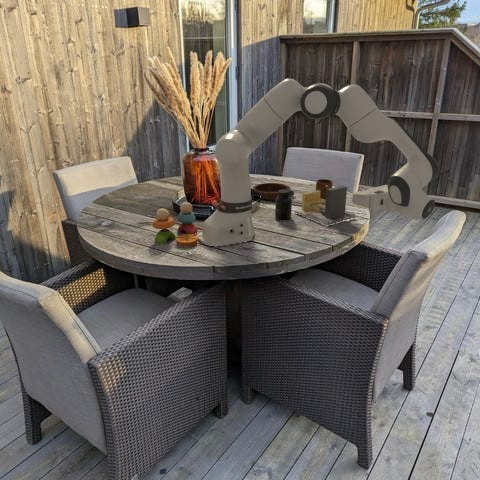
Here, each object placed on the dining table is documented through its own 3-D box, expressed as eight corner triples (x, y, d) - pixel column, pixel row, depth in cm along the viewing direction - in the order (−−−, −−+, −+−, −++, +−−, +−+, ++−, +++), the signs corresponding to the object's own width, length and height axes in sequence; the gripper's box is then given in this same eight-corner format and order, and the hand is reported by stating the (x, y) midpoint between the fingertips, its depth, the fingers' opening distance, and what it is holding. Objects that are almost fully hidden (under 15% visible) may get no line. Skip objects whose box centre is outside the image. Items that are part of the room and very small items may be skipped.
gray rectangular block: (328, 219, 179) (330, 190, 175) (317, 214, 184) (319, 186, 180) (344, 214, 184) (347, 186, 179) (333, 210, 189) (335, 183, 184)
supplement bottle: (272, 219, 185) (272, 192, 180) (278, 214, 190) (279, 187, 186) (287, 222, 182) (288, 194, 177) (293, 217, 187) (294, 189, 183)
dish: (247, 192, 223) (247, 183, 221) (290, 191, 224) (291, 182, 222) (250, 203, 207) (250, 193, 205) (297, 201, 208) (297, 191, 206)
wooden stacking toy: (187, 250, 156) (185, 217, 151) (149, 242, 164) (146, 210, 159) (214, 234, 171) (213, 203, 166) (178, 226, 178) (176, 197, 174)
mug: (335, 205, 201) (336, 185, 197) (318, 206, 201) (320, 186, 197) (329, 198, 212) (330, 178, 209) (313, 198, 212) (314, 179, 208)
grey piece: (327, 226, 176) (328, 206, 173) (294, 213, 192) (295, 194, 188) (355, 219, 184) (357, 199, 181) (322, 206, 200) (323, 188, 196)
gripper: (410, 185, 161) (380, 177, 172) (371, 194, 151) (342, 186, 161) (408, 201, 163) (378, 193, 174) (370, 212, 153) (341, 202, 164)
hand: (360, 190), depth 168 cm, fingers closed
